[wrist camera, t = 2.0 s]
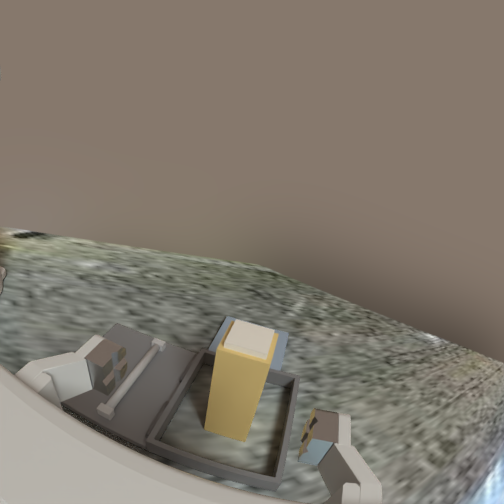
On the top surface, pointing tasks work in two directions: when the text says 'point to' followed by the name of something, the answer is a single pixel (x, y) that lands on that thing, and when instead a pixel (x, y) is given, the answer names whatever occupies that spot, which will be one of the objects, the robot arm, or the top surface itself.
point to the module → (239, 378)
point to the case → (168, 403)
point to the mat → (282, 336)
